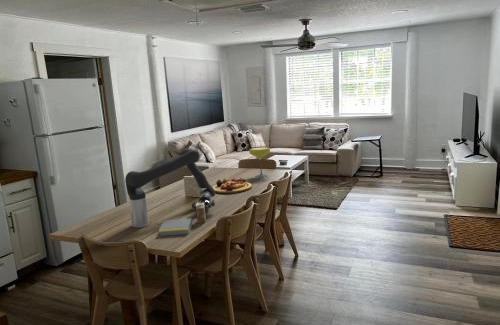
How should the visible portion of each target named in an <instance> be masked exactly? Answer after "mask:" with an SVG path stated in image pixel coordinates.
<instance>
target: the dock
mask: <svg viewBox="0 0 500 325" xmlns="http://www.w3.org/2000/svg"><path fill="white" fill-rule="evenodd" d="M192 227H193V219H192V218H181V219H167V220H164V221H163V222H162V224H161V225H160V227H159V228H158V229H159V230H158V232H159V236H161V237H163V236H176V235H178V236H179V235H189V234H190V232H191V230H192Z"/></svg>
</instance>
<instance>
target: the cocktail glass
mask: <svg viewBox="0 0 500 325" xmlns="http://www.w3.org/2000/svg"><path fill="white" fill-rule="evenodd" d="M270 151H271V148H270V147H269V146H255V147H250V148H249V150H248V152H249V154H250V155H251V156H253V157H256V158H257V159H258V160H259V166H260V173H259V174H256V175H255V176H254V177H255V178H266V177H267V176H269V175H268V174H266V173H264V174H263V172H262V161H261V160H262V158H264V157H265V156H267V155H269V153H270Z"/></svg>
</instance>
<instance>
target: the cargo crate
mask: <svg viewBox="0 0 500 325" xmlns="http://www.w3.org/2000/svg"><path fill="white" fill-rule="evenodd" d="M196 203H197V202H196ZM195 210H196V219H197V224H202V223H206V222H207V215H206V207H205V205H204V203H197V204H196V209H195Z"/></svg>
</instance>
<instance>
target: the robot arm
mask: <svg viewBox="0 0 500 325" xmlns="http://www.w3.org/2000/svg"><path fill="white" fill-rule="evenodd" d="M199 158H200V152H199V151H198V150H196V149H193V148H184V149H183V150H181V153H180V155H177V156H172V157H168V158H164V159H162V160H160V161H158V162H156V163H155V164H154V165H153V166H151V167H150V168H149V169H146V170H142V171H134V170H132V171H129V172H128V173H126V176H125V179H124V180H125V186H126V192H127V195H128V199H129V204H130V210H131V211H130V220H131V227H132V228H137V229H138V228H144V227H147V226H149V225H150V219H149V213H148V211H149V210H148V204H147V203H148V202H147V199H146V198H147V197H146V192H145V191H144V190H143V187H144V186H146V185H147V184H149V183H151V182H152V181H154V180H157V179H160V178H161V177H164V176H166V175H168V174H171V173H173V172H174V171H177V170H179V169H181V168H183V167H185V166H186V168H187V169H188V170H189V171H190V173H191V174H192V177H193V178H194V180H195V182H196V184H197V186H198V188H199V189H202V190H200V191H199V195H200V197H199V198H198V201H197V202H196V201H193V202H192V203H191V208H192V209H194V210H196V204H197V203H204V205H205V208H208V209H211V208H213V207H215V206H216V205H215V204H216V203H215V200H214V199H212V198H214V197H215V196H216V192H215V190H214V189H213V185H212V186H211V184H210V183H209V182H208V180H207V178H206V176H205V174H204V172H203V171H202V170H201V169H200V168H199V166H198V165H197V164H196V163H197V162H198V161H199Z"/></svg>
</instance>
